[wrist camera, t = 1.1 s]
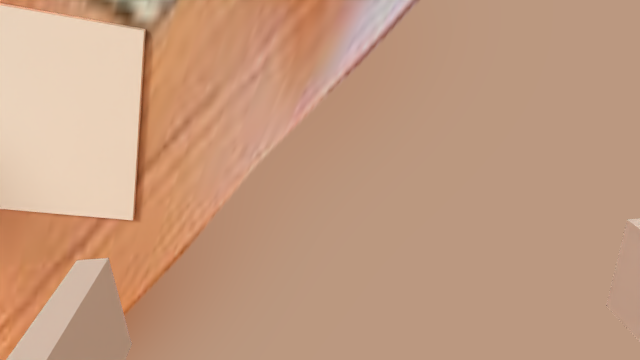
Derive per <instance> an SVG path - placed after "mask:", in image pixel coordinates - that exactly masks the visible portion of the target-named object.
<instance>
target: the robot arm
mask: <svg viewBox="0 0 640 360" xmlns="http://www.w3.org/2000/svg"><path fill="white" fill-rule="evenodd" d="M606 306H607V307H608V308H609V309H610V311H611V312H612V313H613V314H614V315H615V316H616V317H617V318H618V319H619V320H620V321H621V322H622V323H623V324H624V326H626V328H627V329H628V330H629V331H630V332H631V333H632V334H633V335H634V336H635V337H636V338H637V339H638V340H639V342H640V219H629V220H627V223H626V227H625V231H624V236H623V239H622V244H621V248H620V252H619V256H618V260H617V264H616V268H615V273H614V276H613V280H612V285H611V289H610V293H609V297H608V301H607V305H606ZM131 345H132V343H131V339H130V336H129V332H128V328H127V324H126V321H125V317H124V313H123V310H122V306H121V302H120V299H119V295H118V291H117V287H116V284H115V280H114V276H113V273H112V269H111V265H110V262H109V258H102V259H88V260H77V261H76V262H75V264H74V265H73V267H72V268H71V269H70V271H69V272H68V274H67V275H66V276H65V278H64V279H63V281H62V282H61V283H60V285H59V286H58V288H57V289H56V290H55V292H54V293H53V295H52V296H51V297H50V299H49V300H48V302H47V303H46V305H45V306H44V307H43V309H42V310H41V312H40V313H39V314H38V316H37V317H36V319H35V320H34V321H33V323H32V324H31V326H30V327H29V328H28V330H27V331H26V333H25V334H24V335H23V337H22V338H21V340H20V341H19V342H18V344H17V345H16V347H15V348H14V349H13V351H12V352H11V354H10V355H9V356H8V358H7V359H6V360H126V357H127V355H128V352H129V350H130V348H131Z"/></svg>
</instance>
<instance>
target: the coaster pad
mask: <svg viewBox="0 0 640 360" xmlns="http://www.w3.org/2000/svg"><path fill="white" fill-rule="evenodd" d="M145 35H146V29H143V28H137V27H132V26H126V25H121V24H115V23H109V22H104V21H98V20H93V19H87V18H82V17H76V16H70V15H65V14H59V13H54V12H48V11H42V10H37V9H31V8H26V7H20V6H14V5H9V4H3V3H0V209H7V210H19V211H30V212H42V213H54V214H65V215H77V216H88V217H100V218H111V219H123V220H133V218H134V215H135V200H136V183H137V167H138V150H139V134H140V117H141V101H142V84H143V68H144V51H145Z"/></svg>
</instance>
